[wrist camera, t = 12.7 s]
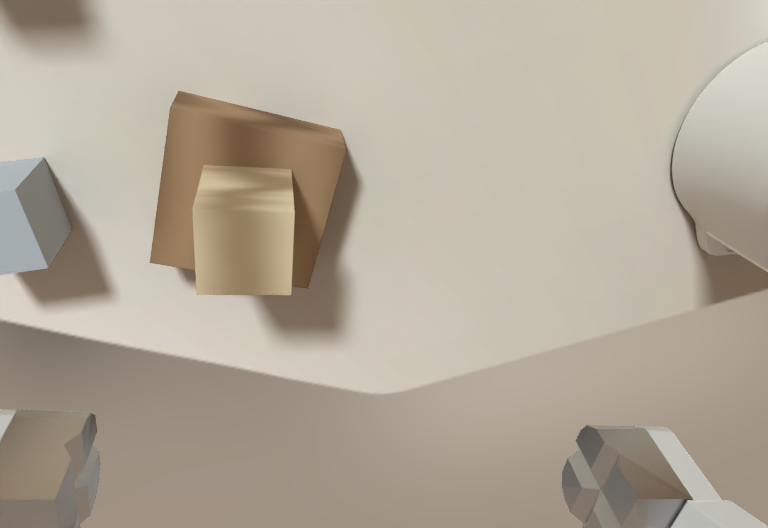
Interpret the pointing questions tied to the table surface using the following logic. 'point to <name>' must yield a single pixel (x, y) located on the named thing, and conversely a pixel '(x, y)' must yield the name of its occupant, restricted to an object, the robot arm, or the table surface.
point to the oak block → (244, 231)
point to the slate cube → (29, 216)
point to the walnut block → (244, 149)
